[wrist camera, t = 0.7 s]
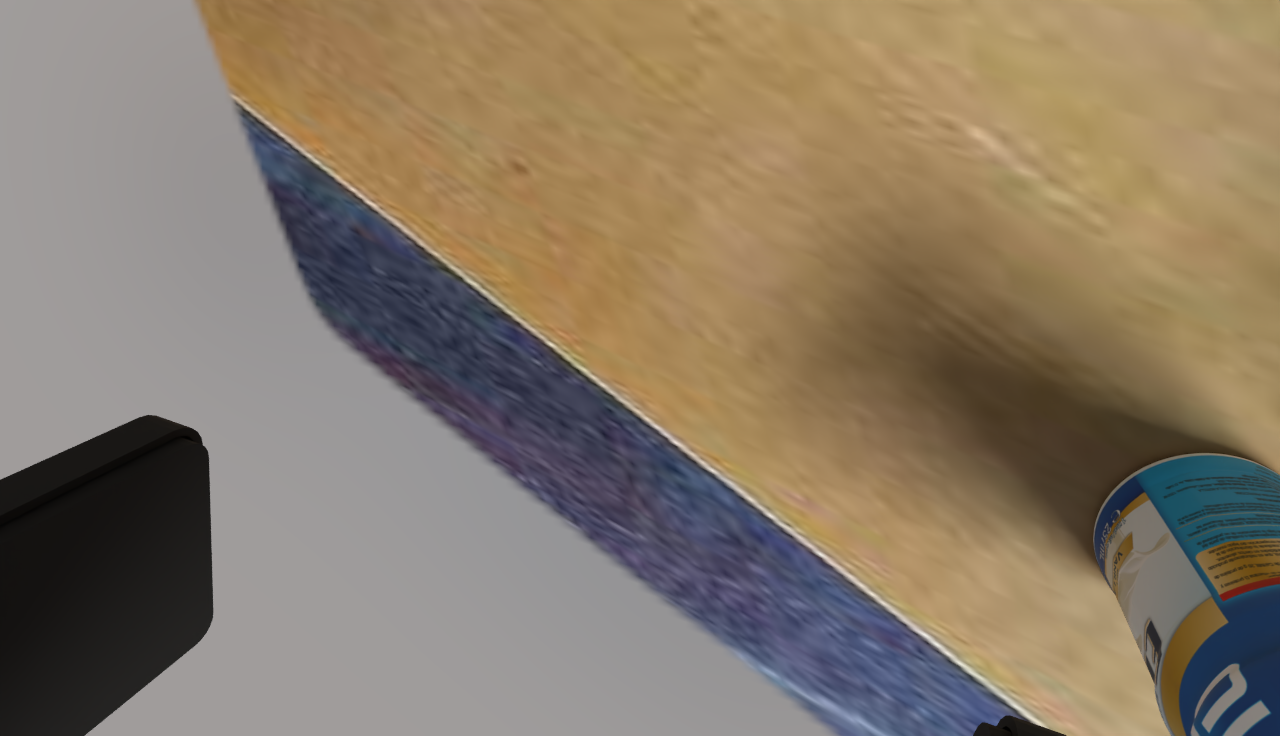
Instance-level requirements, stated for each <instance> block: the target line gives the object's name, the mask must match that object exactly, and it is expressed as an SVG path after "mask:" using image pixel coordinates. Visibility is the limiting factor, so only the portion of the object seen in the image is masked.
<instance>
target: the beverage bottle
mask: <svg viewBox="0 0 1280 736" xmlns="http://www.w3.org/2000/svg"><path fill="white" fill-rule="evenodd" d="M1093 542H1094V551H1095V556H1096V559H1097V562H1098V565H1099V567H1100V569H1101V572H1102V574H1103V576H1104V578H1105V580H1106V582H1107V583H1108V585H1109V587H1110V588H1111V590H1112V591H1113V592H1114V594H1115V595H1116V598H1117V600H1118V602H1119V604H1120V607H1121V609H1122V611H1123V613H1124V616H1125V618H1126V620H1127V622H1128V625H1129V627H1130V629H1131V631H1132V634H1133V636H1134V638H1135V640H1136V643H1137V645H1138V647H1139V649H1140V652H1141V654H1142V656H1143V659H1144V661H1145V663H1146V665H1147V668H1148V670H1149V672H1150V674H1151V677H1152V679H1153V681H1154V684H1155V694H1156V700H1157V704H1158V707H1159V710H1160V713H1161V716H1162V718H1163V720H1164V723H1165V725H1166V727H1167V729H1168V731H1169V732H1170V734H1171V736H1280V475H1279V474H1277V473H1276V472H1274V471H1272V470H1271V469H1269V468H1267V467H1265V466H1263V465H1261V464H1258V463H1256V462H1253V461H1250V460H1247V459H1244V458H1240V457H1236V456H1231V455H1225V454H1216V453H1194V454H1185V455H1179V456H1174V457H1170V458H1166V459H1163V460H1160V461H1157V462H1154V463H1152V464H1149V465H1147V466H1145V467H1143V468H1141V469H1139V470H1138V471H1136V472H1134V473H1133V474H1131V475H1130V476H1128V477H1127V478H1126V479H1125V480H1123V481H1122V482H1121V483H1120V484H1119V485H1118V486H1117V487H1116V488H1115V489H1114V490H1113V491H1112V492H1111V493H1110V495H1109V496H1108V497H1107V499H1106V500H1105V502H1104V503H1103V505H1102V507H1101V509H1100V511H1099V513H1098V516H1097V519H1096V522H1095V527H1094V536H1093Z"/></svg>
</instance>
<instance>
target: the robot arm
mask: <svg viewBox="0 0 1280 736" xmlns="http://www.w3.org/2000/svg"><path fill="white" fill-rule="evenodd" d="M210 516H211V515H210V481H209V455H208V451H207V449H206V448H205V447H204V446H203V443H202V439H201V436H200V435H199V433H198V432H197V431H196V430H194V429H192V428H190V427H187V426H184V425H181V424H178V423H175V422H172V421H170V420H167V419H164V418H161V417H158V416H152V415H146V416H143V417H139V418H137V419H135V420H133V421H130V422H128V423H126V424H124V425H122V426H119V427H117V428H115V429H112V430H110V431H108V432H106V433H104V434H101V435H99V436H97V437H95V438H92V439H90V440H88V441H86V442H83V443H81V444H79V445H77V446H75V447H72V448H70V449H68V450H66V451H64V452H61V453H59V454H57V455H55V456H52V457H50V458H48V459H46V460H43V461H41V462H39V463H37V464H34V465H32V466H30V467H28V468H26V469H24V470H21V471H19V472H17V473H14V474H12V475H10V476H8V477H6V478H3V479H1V480H0V736H85V735H86V734H87V733H88V732H89V731H91V730H92V729H93V728H94V727H96V726H97V725H98V724H99V723H101V722H102V721H103V720H104V719H105V718H107V717H108V716H109V715H110V714H112V713H113V712H114V711H115V710H117V709H118V708H119V707H120V706H121V705H123V704H124V703H125V702H126V701H127V700H129V699H130V698H131V697H132V696H134V695H135V694H136V693H137V692H138V691H140V690H141V689H142V688H144V687H145V686H146V685H147V684H148V683H150V682H151V681H152V680H153V679H155V678H156V677H157V676H158V675H160V674H161V673H162V672H163V671H164V670H166V669H167V668H168V667H169V666H170V665H172V664H173V663H174V662H175V661H177V660H178V659H179V658H180V657H182V656H183V655H184V654H185V653H186V652H187V651H189V650H190V649H191V648H193V647H194V646H195V645H196V644H197V643H198V642H199V641H200V640H201V639H202V638H203V637H204V635H205V634H206V633H207V631H208V629H209V627H210V625H211V621H212V618H213V586H212V552H211V517H210ZM973 736H1066V735H1064V734H1061V733H1058V732H1055V731H1053V730H1050V729H1047V728H1044V727H1041V726H1038V725H1035V724H1033V723H1030V722H1027V721H1024V720H1021V719H1018V718H1016V717H1013V716H1004V717H1003V718H1002V719H1001V720H1000V721H999V723H998V725H997V726H994V725H991V724H988V723H981V724H980V725H979V726H978V727H977V729H976V731H975V733H974V735H973Z"/></svg>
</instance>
